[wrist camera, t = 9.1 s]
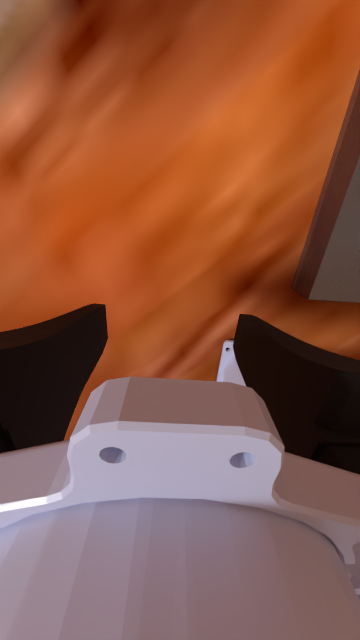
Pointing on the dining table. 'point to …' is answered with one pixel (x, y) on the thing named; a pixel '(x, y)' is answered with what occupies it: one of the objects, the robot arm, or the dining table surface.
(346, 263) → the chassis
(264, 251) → the dining table surface
